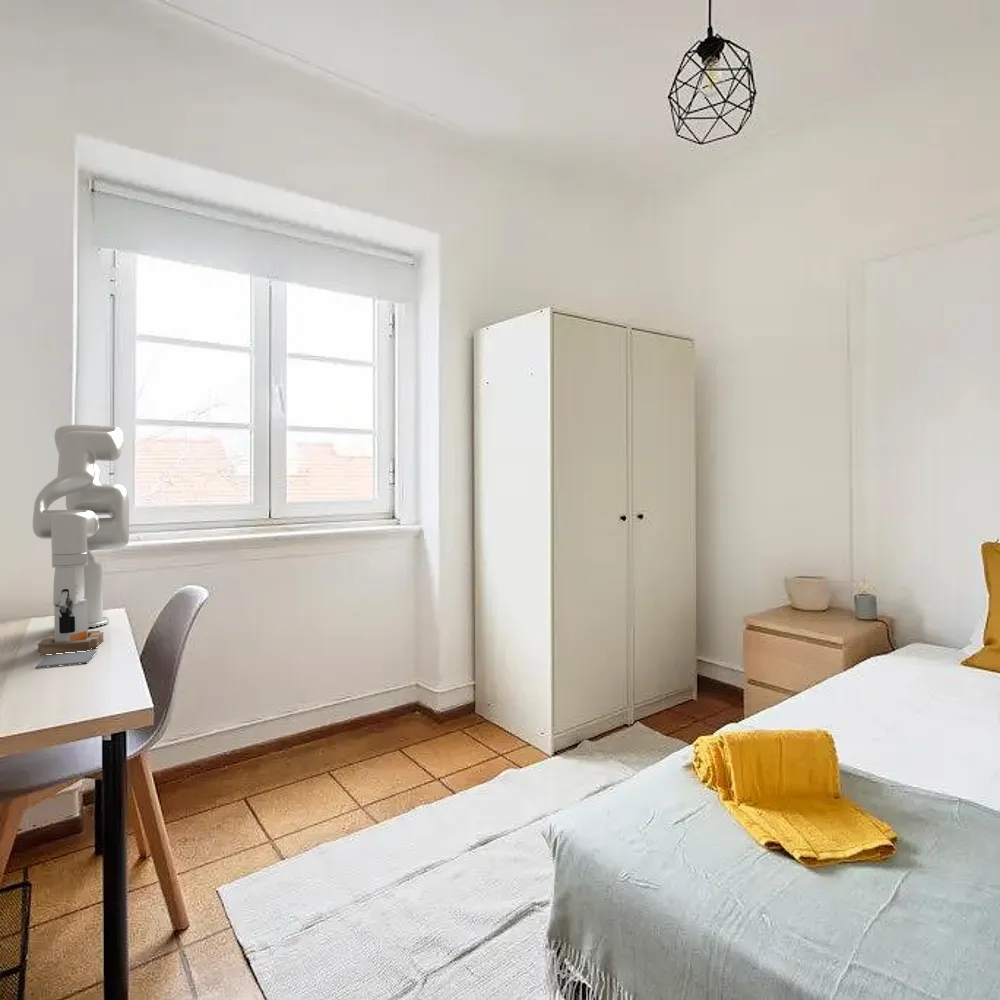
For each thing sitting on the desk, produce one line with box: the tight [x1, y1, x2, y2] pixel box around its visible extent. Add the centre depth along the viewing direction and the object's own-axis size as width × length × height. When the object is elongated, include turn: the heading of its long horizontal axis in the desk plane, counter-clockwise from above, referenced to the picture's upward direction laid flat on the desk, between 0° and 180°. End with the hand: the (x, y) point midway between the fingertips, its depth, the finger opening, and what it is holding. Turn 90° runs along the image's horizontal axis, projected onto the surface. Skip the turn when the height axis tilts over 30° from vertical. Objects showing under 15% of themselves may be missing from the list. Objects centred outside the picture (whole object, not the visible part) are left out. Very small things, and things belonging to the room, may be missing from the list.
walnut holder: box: [37, 630, 104, 656], centre depth 159 cm, size 12×12×2 cm
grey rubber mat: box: [35, 650, 98, 669], centre depth 147 cm, size 10×10×1 cm
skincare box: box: [53, 599, 89, 642], centre depth 158 cm, size 6×4×12 cm
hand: (71, 628), depth 159 cm, fingers closed on skincare box, 7 cm apart
